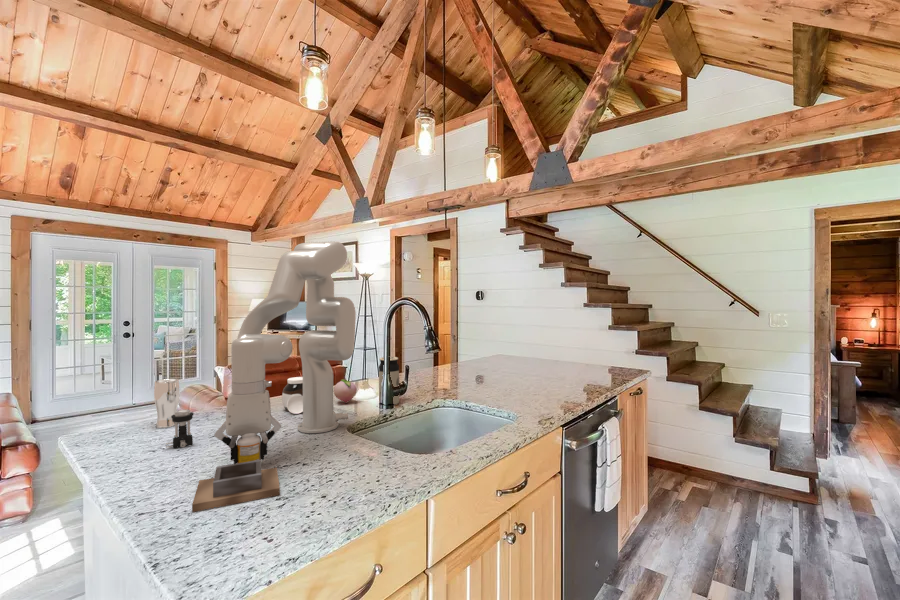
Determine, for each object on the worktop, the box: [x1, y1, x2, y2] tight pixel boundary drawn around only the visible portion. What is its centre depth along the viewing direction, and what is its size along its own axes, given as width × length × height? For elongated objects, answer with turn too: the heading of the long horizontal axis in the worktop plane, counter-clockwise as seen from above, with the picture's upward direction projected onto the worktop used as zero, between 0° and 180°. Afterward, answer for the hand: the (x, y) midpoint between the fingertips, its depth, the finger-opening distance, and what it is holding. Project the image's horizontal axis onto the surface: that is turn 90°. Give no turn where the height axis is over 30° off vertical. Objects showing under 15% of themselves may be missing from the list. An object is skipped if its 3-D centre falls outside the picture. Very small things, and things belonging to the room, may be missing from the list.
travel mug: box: [378, 356, 400, 405], centre depth 165 cm, size 8×8×18 cm
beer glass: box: [153, 378, 180, 429], centre depth 137 cm, size 7×7×15 cm
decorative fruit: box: [333, 377, 357, 404], centre depth 165 cm, size 9×8×10 cm
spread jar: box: [281, 376, 303, 415], centre depth 155 cm, size 12×11×12 cm
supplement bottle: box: [236, 433, 262, 464], centre depth 103 cm, size 5×5×10 cm
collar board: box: [191, 459, 281, 513], centre depth 90 cm, size 16×12×4 cm
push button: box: [165, 409, 194, 449], centre depth 118 cm, size 7×5×10 cm
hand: (249, 459), depth 103 cm, fingers closed on supplement bottle, 5 cm apart
